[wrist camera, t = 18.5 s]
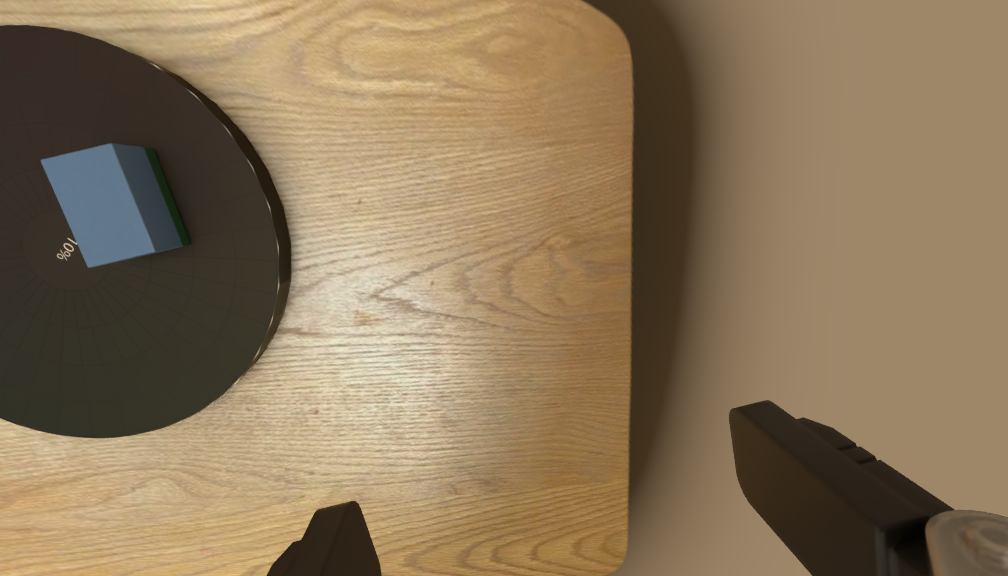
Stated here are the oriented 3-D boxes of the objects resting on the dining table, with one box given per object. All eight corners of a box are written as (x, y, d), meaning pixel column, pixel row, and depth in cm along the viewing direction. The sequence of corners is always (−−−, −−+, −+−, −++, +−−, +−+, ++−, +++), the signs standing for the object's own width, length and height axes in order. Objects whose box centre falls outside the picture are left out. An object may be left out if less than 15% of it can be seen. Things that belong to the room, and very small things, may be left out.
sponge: (91, 163, 33) (39, 159, 29) (153, 148, 33) (110, 142, 29) (131, 259, 34) (87, 268, 30) (191, 244, 34) (155, 251, 30)
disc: (208, 475, 41) (188, 497, 38) (-163, 322, 37) (-218, 333, 34) (356, 170, 37) (346, 169, 34) (-46, -49, 32) (-98, -72, 29)
